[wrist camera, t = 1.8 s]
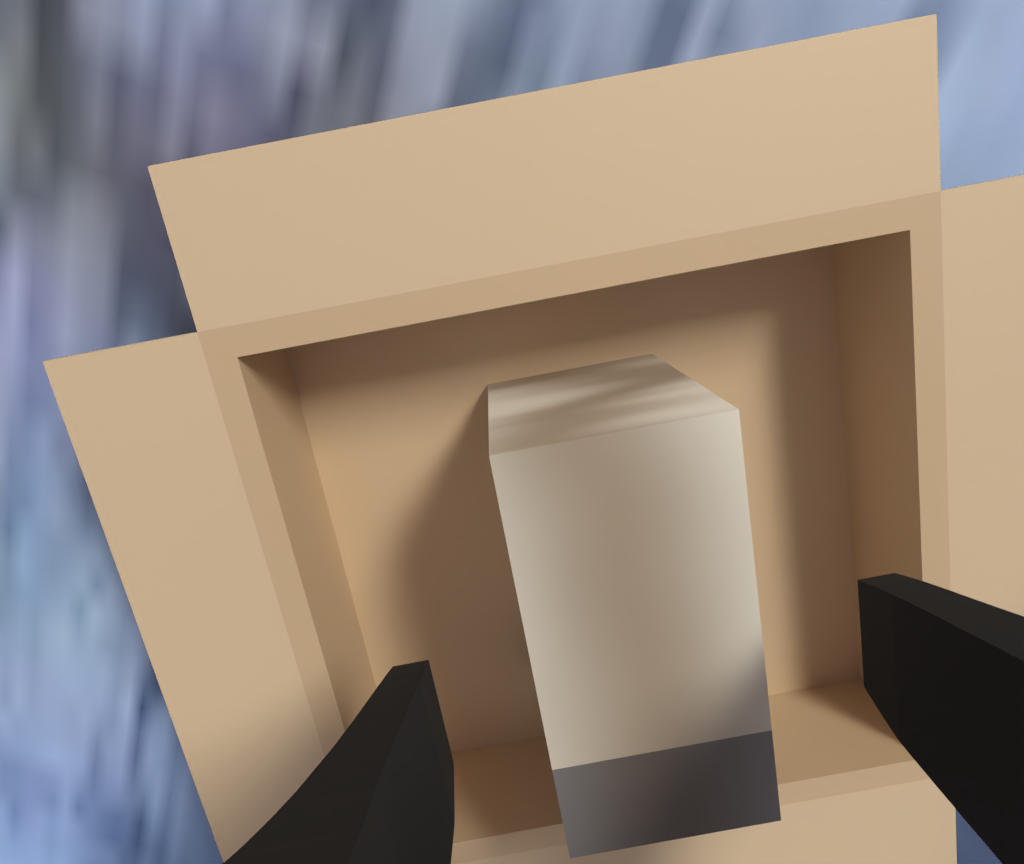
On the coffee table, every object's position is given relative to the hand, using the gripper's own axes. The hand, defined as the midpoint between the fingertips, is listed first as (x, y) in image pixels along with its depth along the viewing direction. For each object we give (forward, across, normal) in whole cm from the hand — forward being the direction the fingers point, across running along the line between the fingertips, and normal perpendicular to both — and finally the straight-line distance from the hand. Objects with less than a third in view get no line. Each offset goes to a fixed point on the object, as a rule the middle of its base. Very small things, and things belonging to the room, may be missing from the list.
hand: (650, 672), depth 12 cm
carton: (+7, 0, 0) cm, 7 cm away
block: (+6, 0, 0) cm, 7 cm away
